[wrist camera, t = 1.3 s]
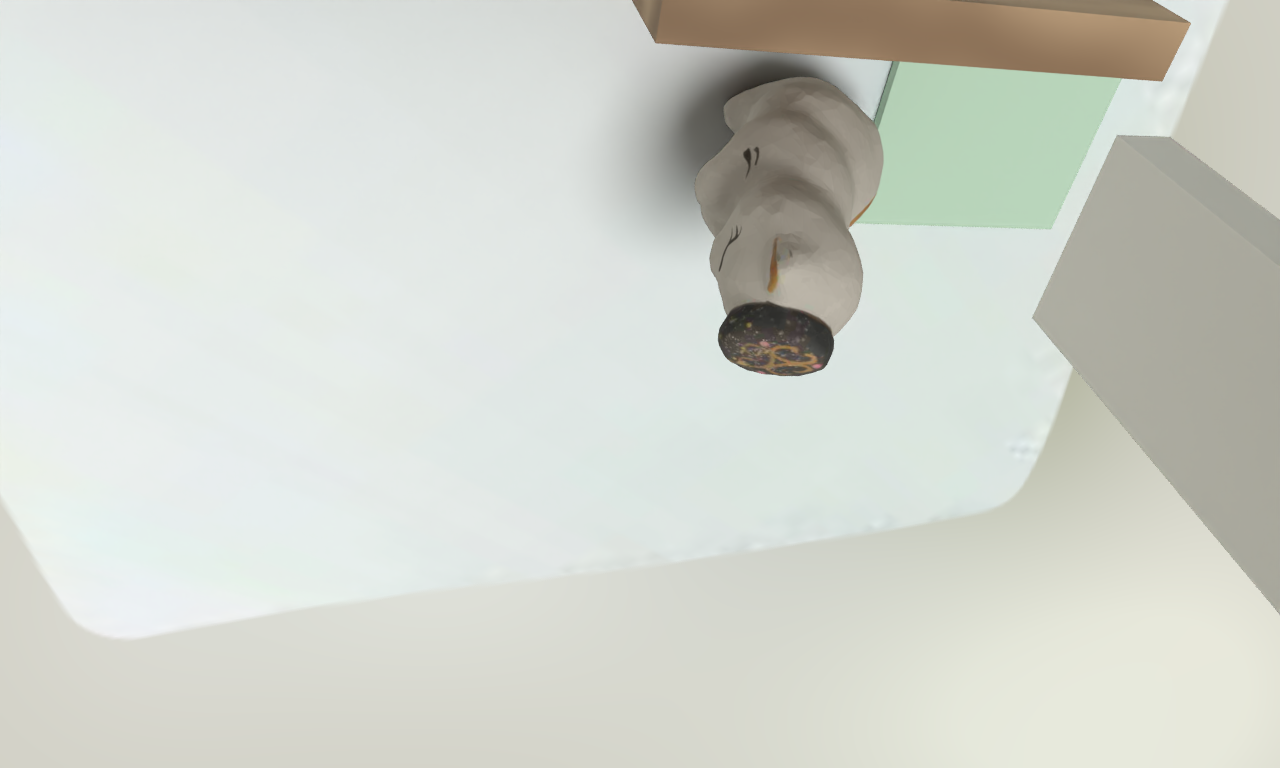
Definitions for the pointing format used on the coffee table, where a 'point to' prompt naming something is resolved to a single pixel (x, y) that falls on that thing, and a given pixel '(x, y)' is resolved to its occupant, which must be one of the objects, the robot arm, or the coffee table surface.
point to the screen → (938, 32)
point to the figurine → (788, 221)
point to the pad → (982, 144)
